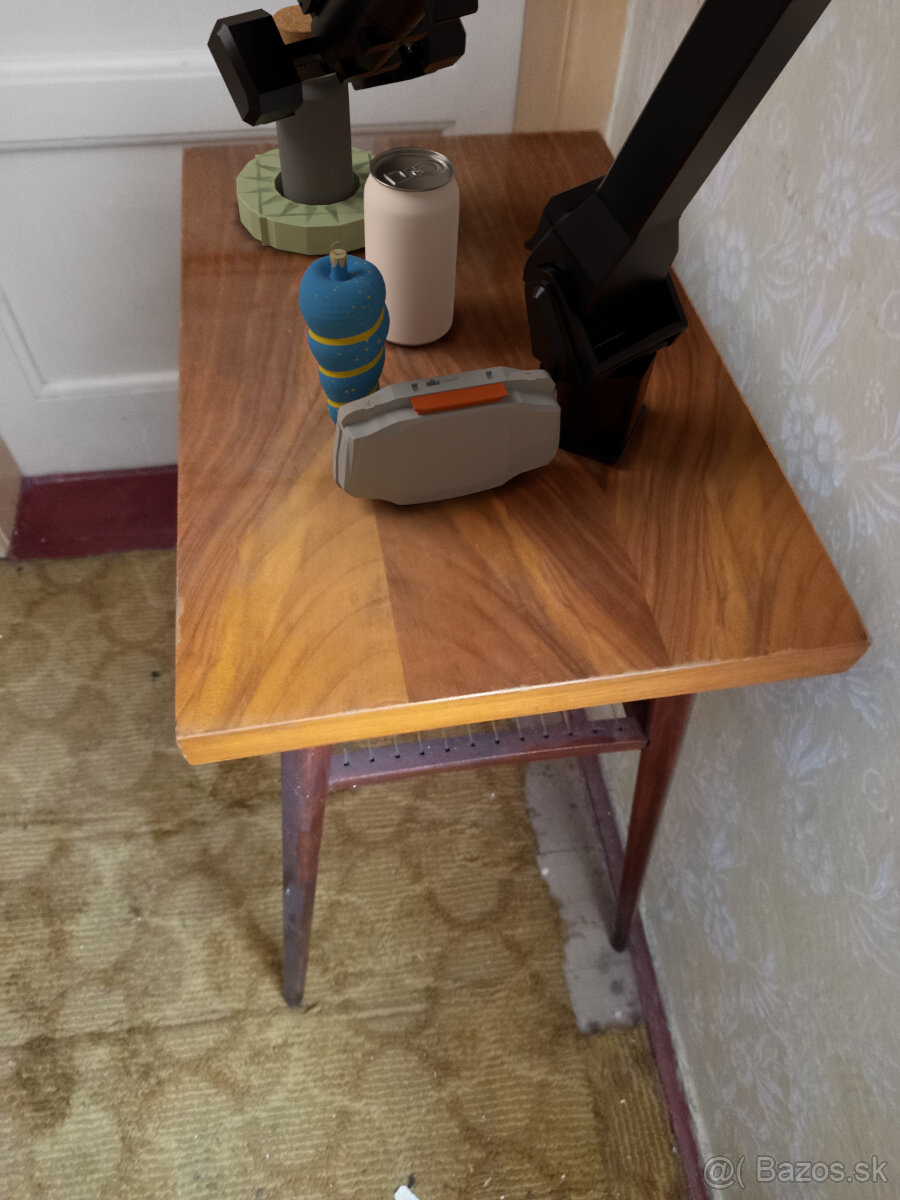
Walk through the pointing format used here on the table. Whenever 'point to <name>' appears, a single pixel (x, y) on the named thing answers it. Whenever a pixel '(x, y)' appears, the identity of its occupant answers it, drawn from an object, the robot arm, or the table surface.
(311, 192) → the bottle
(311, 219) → the holder
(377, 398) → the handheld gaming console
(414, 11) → the robot arm
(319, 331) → the ornament
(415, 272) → the can
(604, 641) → the table surface
